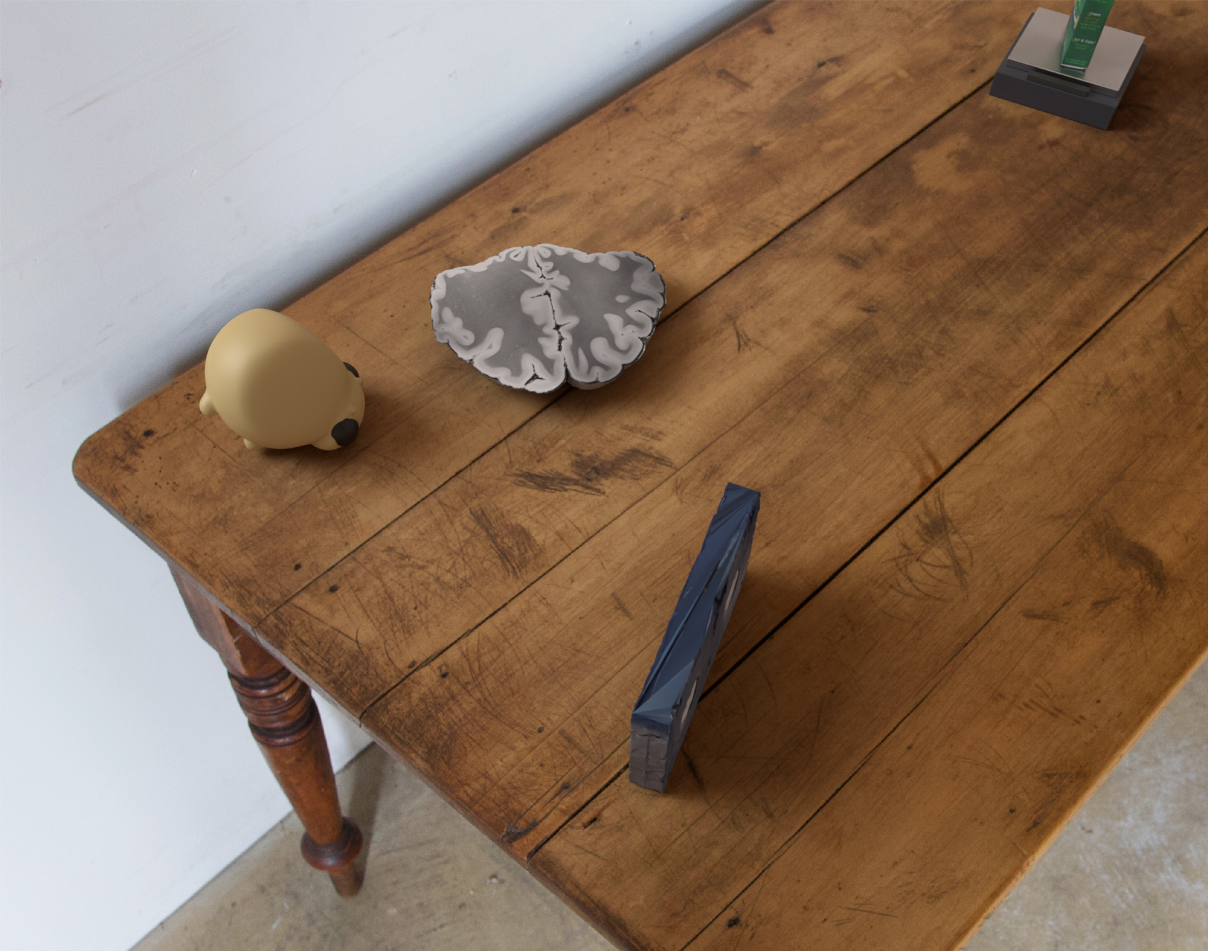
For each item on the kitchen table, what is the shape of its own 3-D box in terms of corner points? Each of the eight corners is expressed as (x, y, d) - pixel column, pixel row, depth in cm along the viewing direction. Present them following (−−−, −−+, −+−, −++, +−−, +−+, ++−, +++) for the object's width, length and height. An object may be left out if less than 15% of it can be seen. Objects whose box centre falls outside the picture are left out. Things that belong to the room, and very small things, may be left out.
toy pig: (304, 500, 88) (390, 442, 82) (165, 430, 80) (249, 361, 74) (316, 404, 93) (398, 343, 87) (186, 329, 85) (267, 257, 79)
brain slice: (451, 433, 87) (446, 408, 85) (424, 286, 96) (420, 259, 94) (692, 397, 90) (695, 371, 87) (645, 256, 98) (646, 229, 96)
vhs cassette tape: (714, 564, 81) (728, 478, 73) (752, 577, 80) (771, 492, 72) (619, 781, 72) (622, 711, 63) (662, 797, 71) (671, 729, 63)
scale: (1137, 67, 114) (1150, 37, 112) (1106, 130, 109) (1120, 99, 106) (1024, 35, 117) (1034, 4, 115) (988, 94, 112) (998, 63, 109)
